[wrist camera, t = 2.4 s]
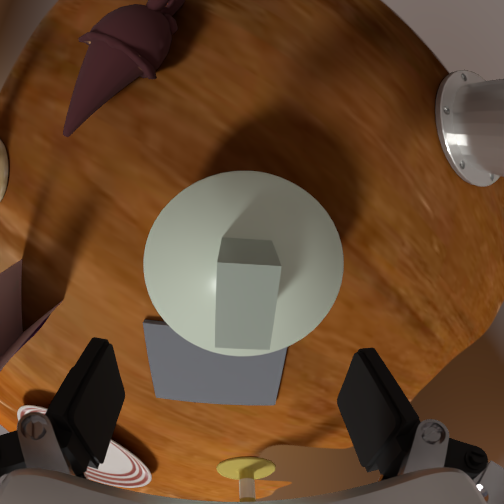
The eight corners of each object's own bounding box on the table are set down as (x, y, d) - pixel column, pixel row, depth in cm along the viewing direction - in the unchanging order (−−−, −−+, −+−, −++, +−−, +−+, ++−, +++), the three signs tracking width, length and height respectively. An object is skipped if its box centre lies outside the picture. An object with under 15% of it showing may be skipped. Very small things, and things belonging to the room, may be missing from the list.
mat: (288, 328, 26) (289, 332, 26) (274, 401, 30) (274, 405, 29) (144, 319, 25) (142, 322, 25) (157, 393, 29) (156, 397, 28)
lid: (352, 182, 17) (390, 194, 12) (319, 348, 21) (336, 392, 16) (147, 166, 16) (113, 172, 11) (155, 341, 20) (138, 385, 16)
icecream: (90, 162, 14) (233, -13, 12) (11, 115, 11) (151, -53, 8) (110, 155, 20) (214, 21, 18) (48, 118, 17) (151, -13, 15)
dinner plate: (88, 392, 29) (80, 409, 26) (180, 479, 39) (178, 493, 35) (3, 393, 31) (-4, 403, 28) (83, 470, 40) (80, 480, 37)
